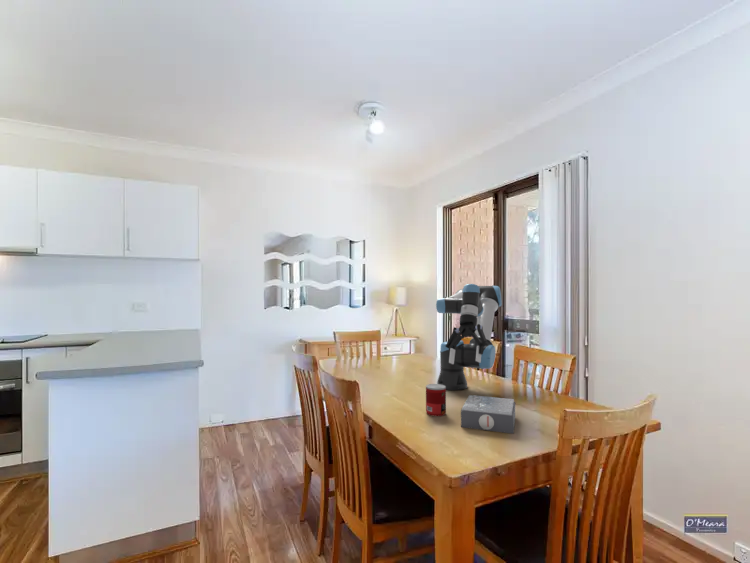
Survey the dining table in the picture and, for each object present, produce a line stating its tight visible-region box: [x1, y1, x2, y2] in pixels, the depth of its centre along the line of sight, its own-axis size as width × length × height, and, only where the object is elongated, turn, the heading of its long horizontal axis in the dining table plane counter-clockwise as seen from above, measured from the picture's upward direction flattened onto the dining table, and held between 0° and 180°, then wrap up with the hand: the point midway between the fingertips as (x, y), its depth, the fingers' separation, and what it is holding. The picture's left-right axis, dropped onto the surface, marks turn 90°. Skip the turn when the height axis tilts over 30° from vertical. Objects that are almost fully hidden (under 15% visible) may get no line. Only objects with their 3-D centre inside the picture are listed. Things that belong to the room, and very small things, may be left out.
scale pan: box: [461, 394, 515, 416], centre depth 148 cm, size 17×17×1 cm
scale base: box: [460, 401, 516, 435], centre depth 147 cm, size 19×18×6 cm
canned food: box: [425, 383, 447, 417], centre depth 158 cm, size 8×8×11 cm
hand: (464, 362), depth 167 cm, fingers open, 13 cm apart
